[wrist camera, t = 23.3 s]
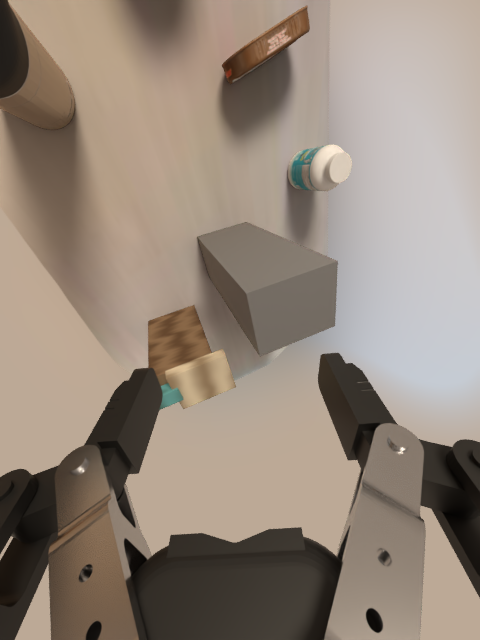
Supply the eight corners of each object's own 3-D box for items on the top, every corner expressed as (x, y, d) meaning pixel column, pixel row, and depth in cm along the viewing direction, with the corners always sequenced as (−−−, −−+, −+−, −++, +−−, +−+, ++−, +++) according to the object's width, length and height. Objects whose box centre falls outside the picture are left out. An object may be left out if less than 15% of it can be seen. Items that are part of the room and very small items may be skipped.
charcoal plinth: (209, 276, 57) (259, 356, 32) (197, 236, 52) (246, 293, 26) (253, 262, 59) (334, 325, 33) (246, 221, 54) (337, 261, 28)
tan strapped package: (132, 421, 45) (131, 433, 43) (108, 393, 40) (106, 404, 38) (233, 380, 48) (236, 388, 46) (222, 348, 43) (226, 357, 41)
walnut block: (160, 344, 62) (165, 405, 45) (148, 321, 58) (148, 379, 41) (202, 328, 64) (222, 382, 47) (193, 305, 60) (212, 354, 43)
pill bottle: (314, 146, 50) (360, 136, 39) (315, 184, 55) (358, 185, 44) (284, 155, 49) (322, 148, 38) (288, 193, 54) (324, 197, 43)
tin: (288, 22, 39) (318, -11, 33) (294, 47, 41) (323, 21, 34) (215, 70, 39) (229, 48, 33) (224, 93, 41) (239, 76, 34)
